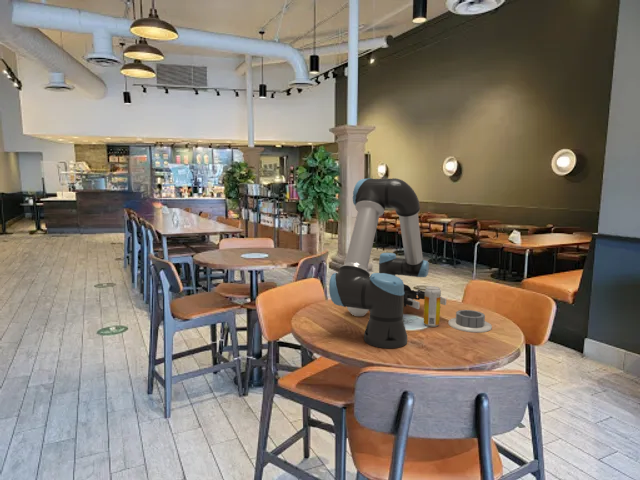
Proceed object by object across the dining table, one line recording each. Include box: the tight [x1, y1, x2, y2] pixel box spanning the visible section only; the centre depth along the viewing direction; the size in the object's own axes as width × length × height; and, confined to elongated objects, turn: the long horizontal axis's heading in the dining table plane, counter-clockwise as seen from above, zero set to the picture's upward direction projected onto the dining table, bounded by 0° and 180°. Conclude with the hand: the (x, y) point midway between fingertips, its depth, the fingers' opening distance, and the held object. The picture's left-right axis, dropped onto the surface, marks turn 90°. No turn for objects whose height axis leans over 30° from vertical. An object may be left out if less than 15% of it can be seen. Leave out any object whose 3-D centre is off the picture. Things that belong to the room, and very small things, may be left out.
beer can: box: [423, 285, 442, 328], centre depth 166 cm, size 6×6×15 cm
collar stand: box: [448, 309, 493, 333], centre depth 166 cm, size 16×16×5 cm
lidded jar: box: [346, 307, 370, 317], centre depth 180 cm, size 11×11×9 cm
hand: (432, 303), depth 167 cm, fingers open, 13 cm apart
